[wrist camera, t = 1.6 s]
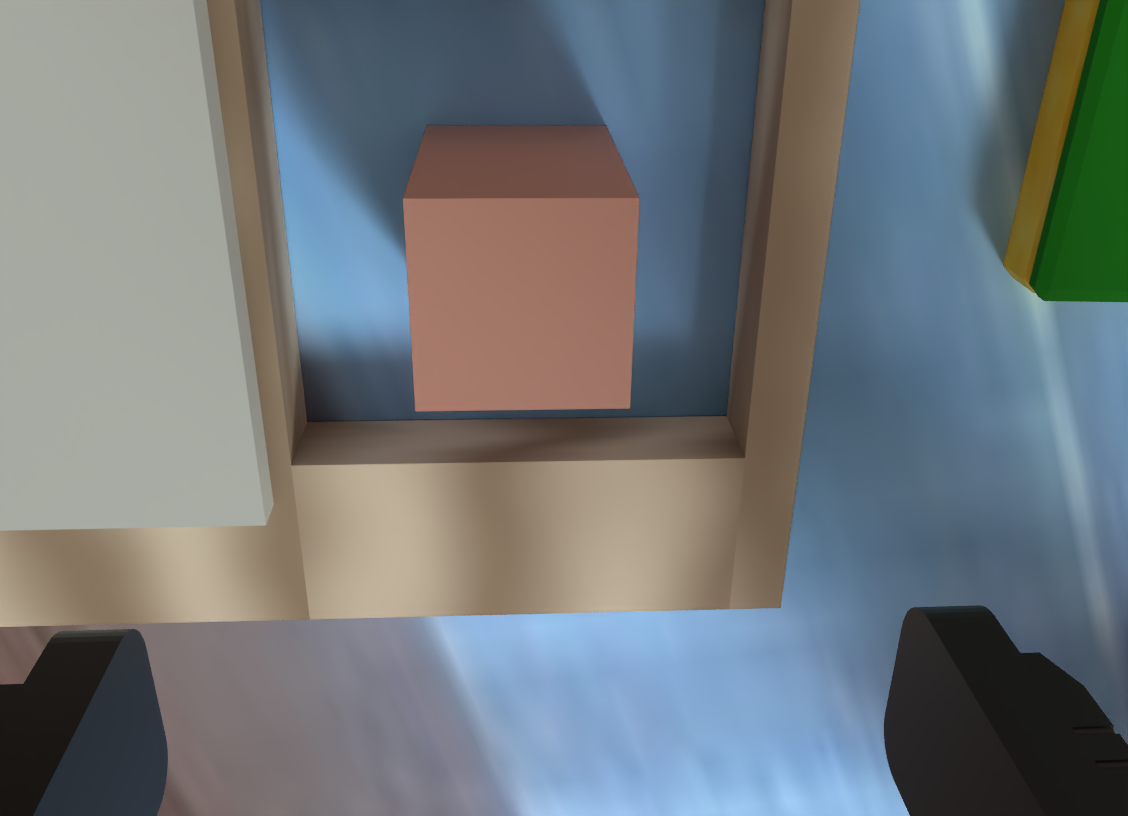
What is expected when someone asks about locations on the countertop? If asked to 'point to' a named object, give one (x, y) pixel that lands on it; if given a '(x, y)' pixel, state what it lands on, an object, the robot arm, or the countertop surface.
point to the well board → (495, 427)
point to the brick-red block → (521, 268)
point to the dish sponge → (1078, 165)
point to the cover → (121, 276)
